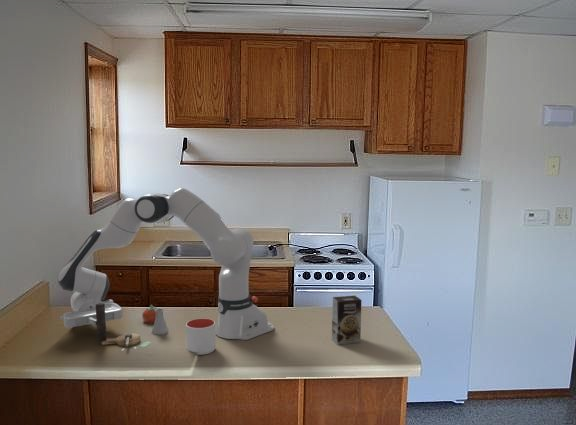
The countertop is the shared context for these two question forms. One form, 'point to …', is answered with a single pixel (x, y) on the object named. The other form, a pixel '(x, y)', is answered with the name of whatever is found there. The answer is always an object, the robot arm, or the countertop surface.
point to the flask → (159, 323)
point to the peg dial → (101, 330)
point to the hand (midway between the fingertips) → (98, 323)
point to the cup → (200, 336)
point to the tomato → (149, 314)
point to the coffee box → (346, 320)
